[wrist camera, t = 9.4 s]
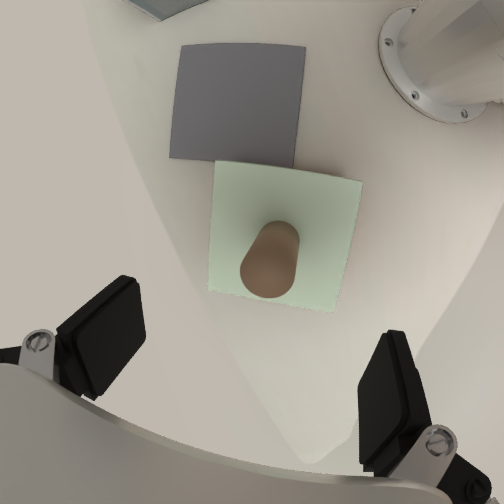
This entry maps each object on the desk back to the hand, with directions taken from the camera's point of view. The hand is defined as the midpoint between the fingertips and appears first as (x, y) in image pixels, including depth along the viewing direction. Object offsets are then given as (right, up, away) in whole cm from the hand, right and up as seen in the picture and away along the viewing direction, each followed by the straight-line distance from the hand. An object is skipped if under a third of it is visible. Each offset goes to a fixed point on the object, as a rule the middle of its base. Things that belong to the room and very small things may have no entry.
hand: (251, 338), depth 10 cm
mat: (-2, +17, +14) cm, 22 cm away
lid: (+2, +4, +13) cm, 14 cm away
